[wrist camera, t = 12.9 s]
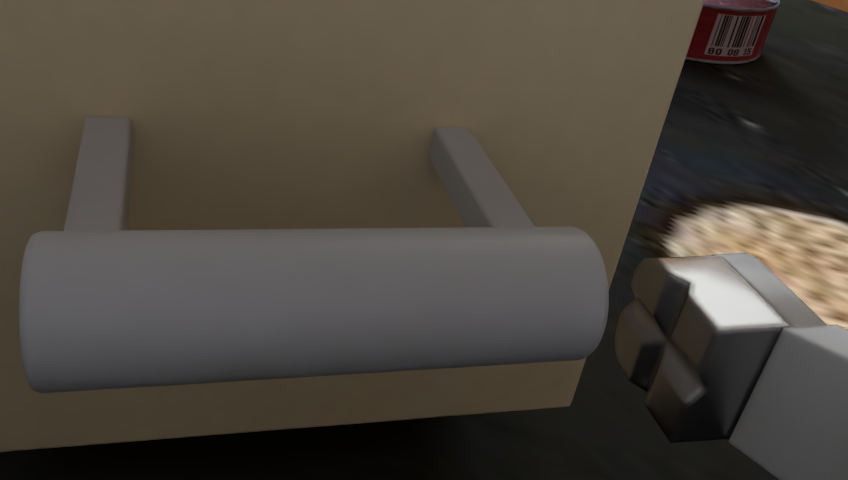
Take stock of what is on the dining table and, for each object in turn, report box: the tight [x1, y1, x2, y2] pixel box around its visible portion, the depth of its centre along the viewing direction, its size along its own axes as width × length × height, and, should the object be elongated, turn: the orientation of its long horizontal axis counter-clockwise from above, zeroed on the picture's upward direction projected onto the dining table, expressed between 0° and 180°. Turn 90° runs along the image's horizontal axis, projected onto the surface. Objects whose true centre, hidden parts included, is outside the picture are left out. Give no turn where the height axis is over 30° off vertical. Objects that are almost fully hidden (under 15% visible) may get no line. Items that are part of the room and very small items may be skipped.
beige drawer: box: [0, 0, 705, 452], centre depth 17 cm, size 19×13×10 cm, turn 15°
